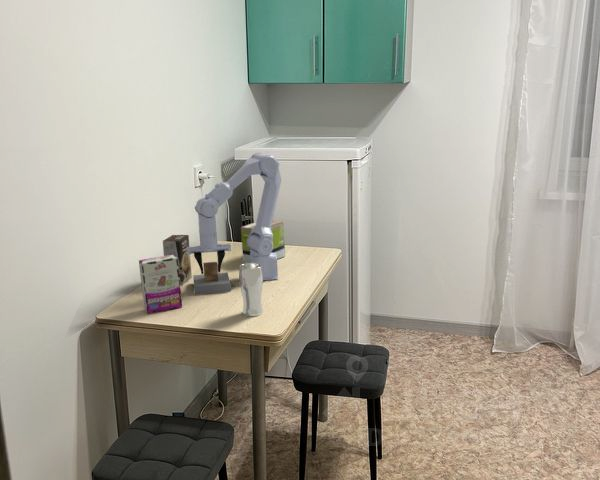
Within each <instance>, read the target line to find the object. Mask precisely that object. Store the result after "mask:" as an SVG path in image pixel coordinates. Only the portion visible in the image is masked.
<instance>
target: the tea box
mask: <svg viewBox="0 0 600 480" xmlns="http://www.w3.org/2000/svg"><path fill="white" fill-rule="evenodd" d="M256 222H257V221H256ZM256 222H251V223H249V224H246V225H243V226H240V235H241V246H242V247H241V249H242V251H241V252H242V260H243V261H242V262H243V264H245V263H251V259H250V248H249V247H248V246H247V239H248V237H249V235H250V234H251V231H252V229H253V228H254V227H255V226H256ZM284 230H285V229H284V221H280V220H274V219H273V220H272V225H271V231H272V234H273V250H272V251H271V253H276V256H277V260H280V259H281V258H284V257H286V247H285V231H284Z"/></svg>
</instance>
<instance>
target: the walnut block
mask: <svg viewBox="0 0 600 480" xmlns="http://www.w3.org/2000/svg"><path fill="white" fill-rule="evenodd" d="M202 266H203V273H204V278H205V282H212V281H218V261H210V262H202Z"/></svg>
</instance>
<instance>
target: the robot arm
mask: <svg viewBox="0 0 600 480" xmlns="http://www.w3.org/2000/svg"><path fill="white" fill-rule="evenodd" d="M279 167H280V163H279V161H278V159H276V157H275V156H274V155H272V154H264V153H262V152H261V153H260V152H255V153H253V154H252V155H251V156H250V157H249V158H247V159H246V161H245V162H244V163H243V164H242V166H241V167H240V168H238V169H237V171H236V172H235V173H233V175H232V176H231V177H230V178H229V179H228V180H227V181H226V182H224V181H223V182H220V183H216V184H215V185H214V188H213V189H211V191H209V192H208V193H206V194H205V195H204V197H201V198H199V199H198V200H197V201H196V204H195V206H194V209H195V212H196V213H197V216H198V232H199V242H200V243H199V245H196V246H189V247H187V252H188V254H190V255H191V254H192V255H193V257H194V259H195V260H196V262H197V264H198V266H199V270H200V273H201V274H200V275H203V274H204V265H203V257H202V256H203V255H202V253H203V254H204V253H205V254H206V253H214V252H215V253H216V255H217V268H218V273H221V270H222V264H223V261H224V258H225V255H226V252H231V251H232V247H231V246H232V245H231V244H230V243H228V244H223V243H221V244H220V243H218V236H217V235H218V234H217V232H218V231H217V221H216V216H217V214H218V211H219V208H220V207H222V205H224V203H225V202H226V201H228V200H229V199H230V198H231V197H232V196H233V193H234V189H236V188H237V187H238V186H239V185H240V184H242V183H243V182H244V181H245V180H247V178H249V177H250V176H253V175H254V176H255V175H260V177H261V178H262V180H263V181H264V185H263V190H262V195H261V200H260V205H259V208H258V209H259V210H258V213H257V218H256V226H255V227H254V228H253V229H252V231H251V234H250V235H249V237H248V239H247V246H248V247H249V248H250V259H251V263H259V264H261V268H262V276H263V281H272V280H279V276H278V275H279V274H278V273H279V272H278V271H279V270H278V259H277V256H276V253H271V251H272V250H273V234H272V231H271V225H272V220H274V215H275V211H276V207H277V202H278V197H279V192H280V188H281V183H282V176H281V172H280V169H279Z"/></svg>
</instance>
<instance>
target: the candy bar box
mask: <svg viewBox="0 0 600 480" xmlns="http://www.w3.org/2000/svg"><path fill="white" fill-rule="evenodd" d="M138 266H139V273H140V282H141V292H142V300H143V309H144V311H145V312H146V313H147V315H150V314H155V313H161V312H166V311H169V310H174V309H179V308H180V309H181V308H183V301H182V291H181V290H182V289H181V285H180V279H179V269H178V259H177V257H176V256H174V255H167V256H164V255H162V256H156V257H151V258H150V257H149V258H144V259H140V260H138Z"/></svg>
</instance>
